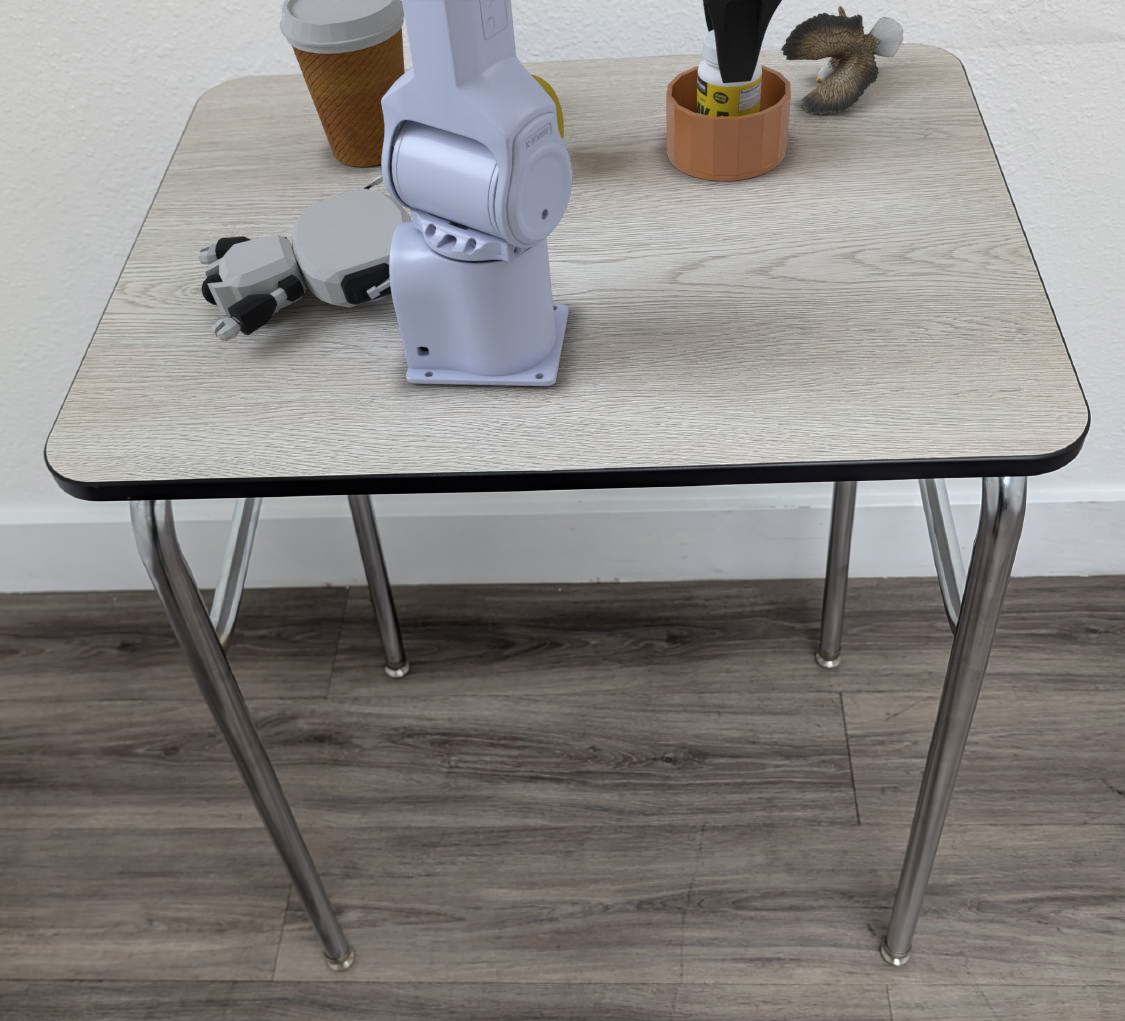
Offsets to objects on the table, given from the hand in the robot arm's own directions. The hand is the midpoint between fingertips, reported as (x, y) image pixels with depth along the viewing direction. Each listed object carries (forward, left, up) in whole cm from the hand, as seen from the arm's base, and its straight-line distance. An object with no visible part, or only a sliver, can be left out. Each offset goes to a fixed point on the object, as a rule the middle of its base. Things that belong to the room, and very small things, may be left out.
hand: (729, 56), depth 81 cm
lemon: (-15, -3, -8) cm, 17 cm away
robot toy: (-28, -19, -8) cm, 35 cm away
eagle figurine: (+9, +10, -8) cm, 15 cm away
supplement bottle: (0, 0, -7) cm, 7 cm away
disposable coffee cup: (-29, +1, -8) cm, 30 cm away
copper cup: (0, 0, -8) cm, 8 cm away
